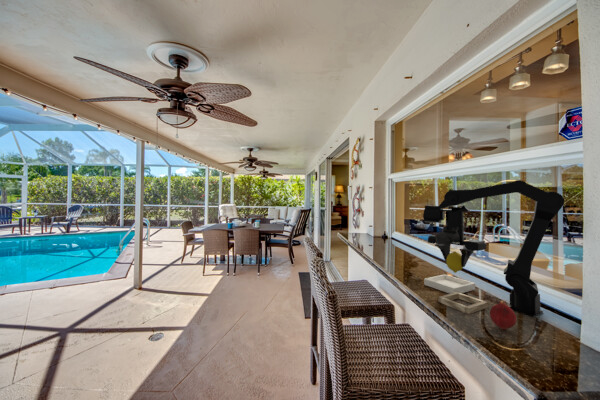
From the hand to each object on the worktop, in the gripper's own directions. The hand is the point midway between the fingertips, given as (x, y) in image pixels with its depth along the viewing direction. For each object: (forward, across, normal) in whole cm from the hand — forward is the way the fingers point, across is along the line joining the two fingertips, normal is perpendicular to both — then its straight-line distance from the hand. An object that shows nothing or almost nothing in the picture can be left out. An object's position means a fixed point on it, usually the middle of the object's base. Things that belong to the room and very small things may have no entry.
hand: (455, 264), depth 92 cm
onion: (+12, +20, -12) cm, 26 cm away
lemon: (+3, 0, 0) cm, 3 cm away
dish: (+12, -7, +7) cm, 16 cm away
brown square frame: (+12, +6, -5) cm, 14 cm away
